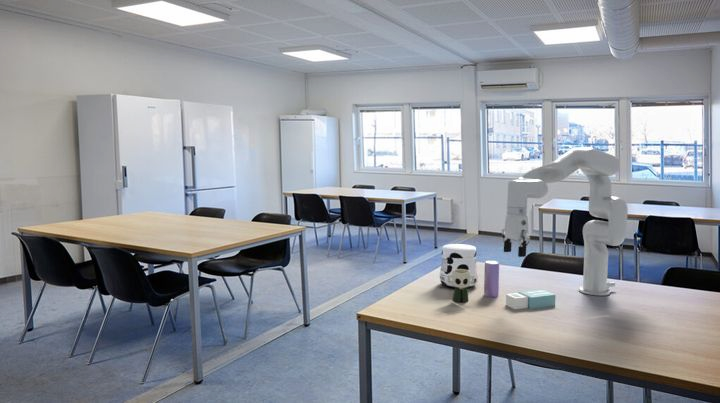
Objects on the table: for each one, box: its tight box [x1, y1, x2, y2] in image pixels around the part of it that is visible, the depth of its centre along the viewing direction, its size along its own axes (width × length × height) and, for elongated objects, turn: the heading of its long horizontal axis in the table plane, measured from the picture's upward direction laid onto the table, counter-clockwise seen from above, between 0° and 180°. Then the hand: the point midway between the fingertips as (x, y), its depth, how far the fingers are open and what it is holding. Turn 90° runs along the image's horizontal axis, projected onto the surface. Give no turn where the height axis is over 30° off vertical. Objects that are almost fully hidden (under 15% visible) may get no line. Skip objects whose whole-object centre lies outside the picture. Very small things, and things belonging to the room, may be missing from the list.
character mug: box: [448, 269, 474, 303], centre depth 221 cm, size 11×7×13 cm, turn 86°
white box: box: [505, 292, 529, 310], centre depth 213 cm, size 6×6×5 cm
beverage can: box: [483, 260, 500, 298], centre depth 228 cm, size 6×6×15 cm
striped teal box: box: [517, 288, 556, 309], centre depth 216 cm, size 12×8×5 cm, turn 109°
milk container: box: [439, 243, 479, 289], centre depth 246 cm, size 17×17×18 cm
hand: (514, 254), depth 212 cm, fingers open, 9 cm apart
